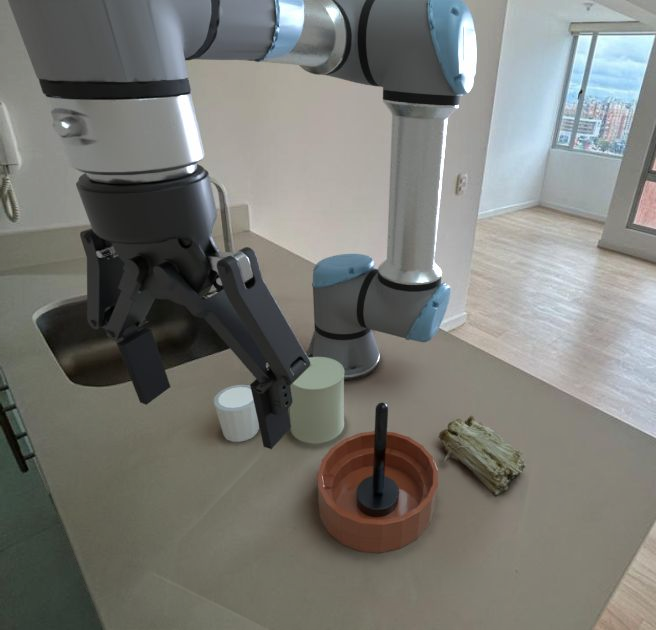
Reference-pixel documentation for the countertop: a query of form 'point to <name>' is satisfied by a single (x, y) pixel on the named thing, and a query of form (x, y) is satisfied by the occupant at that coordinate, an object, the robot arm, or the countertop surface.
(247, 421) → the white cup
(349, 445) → the bowl
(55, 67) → the robot arm
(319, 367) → the can
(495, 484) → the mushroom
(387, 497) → the peg stand
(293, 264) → the countertop surface
